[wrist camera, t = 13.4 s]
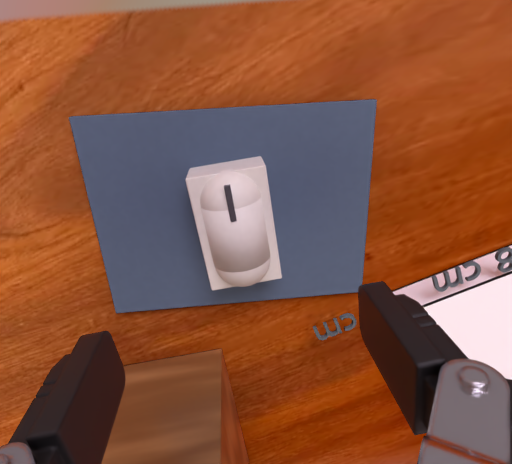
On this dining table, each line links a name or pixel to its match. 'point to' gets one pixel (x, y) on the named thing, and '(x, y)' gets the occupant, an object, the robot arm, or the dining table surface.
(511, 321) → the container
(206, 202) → the white boxy piece
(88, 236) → the dining table surface
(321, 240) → the mouse pad
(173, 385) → the block
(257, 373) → the dining table surface
